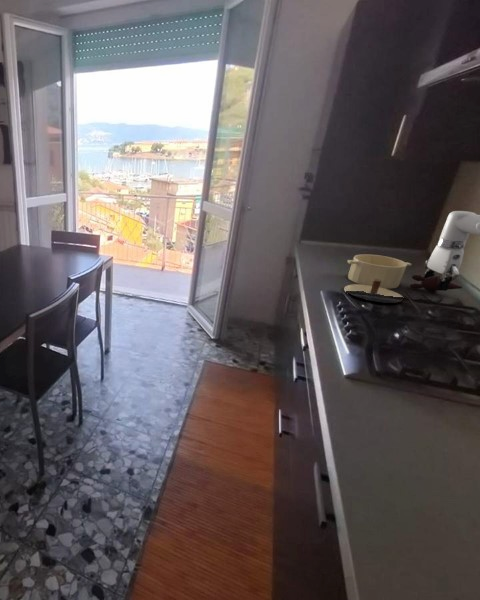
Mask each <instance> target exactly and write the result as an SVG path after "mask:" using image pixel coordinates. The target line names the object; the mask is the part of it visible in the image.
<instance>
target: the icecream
mask: <svg viewBox="0 0 480 600" xmlns="http://www.w3.org/2000/svg"><path fill="white" fill-rule="evenodd" d="M411 278H412V280H414V281H417V282H420V283H412V284H410V285H409V288H410V289H415V290H416V289H424V290H425V291H427V292H431V293H434V294H436V293H437V292H438V291H440V290H437V287H438V285H439V282H440V280H442V278H441V277H440V275H434V276H432V277H428V278H424V276H422V275H420V274H414V275H412V276H411ZM459 289H463V286H461V285H458V284H456V283H453V282H450V284H449V287H448V289H447V290H446V291H449V290H459Z"/></svg>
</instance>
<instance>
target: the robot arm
mask: <svg viewBox="0 0 480 600" xmlns="http://www.w3.org/2000/svg"><path fill="white" fill-rule="evenodd" d="M470 234H471V235H476V236H480V214H477V213H476V212H473V211H469V210H468V211H467V210H453V211H451V212H449V214H448V216H447V218H446V221H445V223H444V225H443V228H442V230H441V233H440V236H439V239H438V241H437V243H436V246H435V247H434V249H433V251H432V252H431V254H430V257H429V259H427V260H425V261H424V269H425V270H424V275H423V277H424V278H428V277H432V276H436V275H435V274H436V273H437V274H440V275H441V279H442V280H440V282H439V285H438V287H437V290H439V291H441V292H442V291H448V290H447V289H448V287H449V284H450V282H451V283H453V281H454V280H455V279H456V278H458V277H459V276H460V272H459V271H460V269H461V266H462V263H463V259H464V254H465V250H464V249H465V246H466V244H467V242H468V239H469V236H470Z"/></svg>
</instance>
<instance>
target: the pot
mask: <svg viewBox="0 0 480 600" xmlns="http://www.w3.org/2000/svg"><path fill="white" fill-rule="evenodd" d="M347 263H348V264H349V265H350V268H349V272H348V274H347V278H348V280H349V281H351V282H352V283H353V282H354V284H361V285H371V286H372V283H373V280H374V279H378V280H381V284H380V286H379V287H381V288H385V289H388V290H391V289H397V288H398V287H399V286H400V284H401V282H402V280H403V276H404V274H405V271H406V269H407V267H412V265H413V264H412V263H410V262H408V261H407V262H405V261H403V260H402V259H398V258H395V257H390V256H385V255H379V254H370V253H369V254H355V255H354V256H353V259H347Z"/></svg>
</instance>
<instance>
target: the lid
mask: <svg viewBox="0 0 480 600" xmlns="http://www.w3.org/2000/svg"><path fill="white" fill-rule="evenodd" d="M380 284H381V280H378V279H374V280H373V283H372V286H371V285H361V284H358V283H353V284H348V285H345V286H344V288H343V290H344V292H345V293H346V291H364V292H366V293H376V294H380V295H384V296H393V297H403V295H402V294H400V293H398V292H396V291H394V290H391V289H385V288H381V287H379V286H380Z"/></svg>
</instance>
